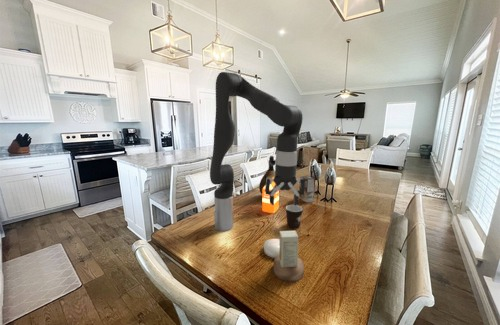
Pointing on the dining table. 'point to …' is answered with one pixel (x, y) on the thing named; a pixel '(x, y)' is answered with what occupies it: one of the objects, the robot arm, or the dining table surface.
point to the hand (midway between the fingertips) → (283, 204)
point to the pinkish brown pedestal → (289, 271)
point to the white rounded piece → (272, 247)
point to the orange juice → (266, 200)
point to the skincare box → (288, 248)
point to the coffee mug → (293, 216)
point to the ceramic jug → (268, 174)
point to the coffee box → (308, 189)
